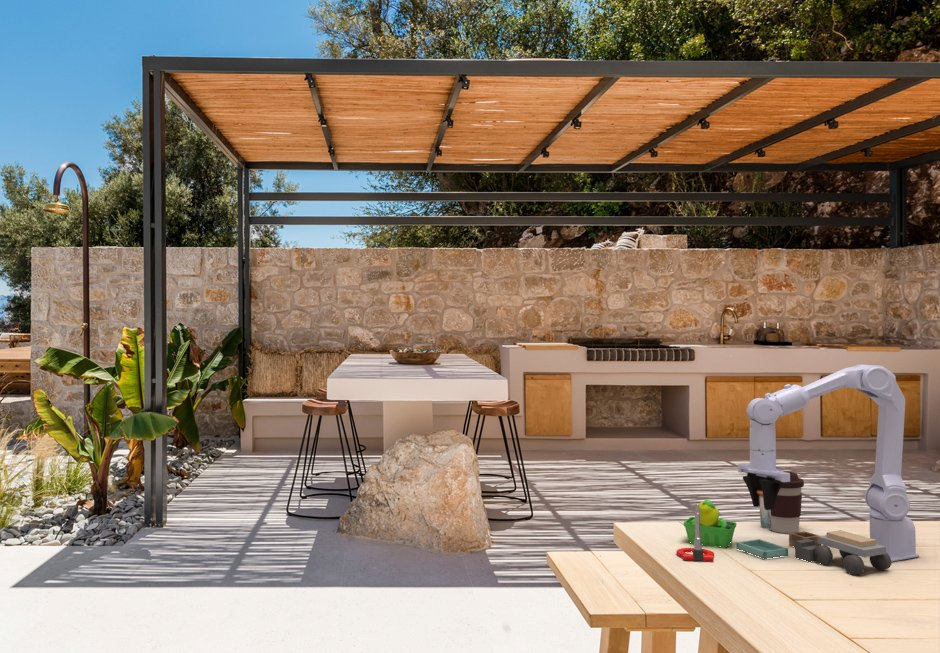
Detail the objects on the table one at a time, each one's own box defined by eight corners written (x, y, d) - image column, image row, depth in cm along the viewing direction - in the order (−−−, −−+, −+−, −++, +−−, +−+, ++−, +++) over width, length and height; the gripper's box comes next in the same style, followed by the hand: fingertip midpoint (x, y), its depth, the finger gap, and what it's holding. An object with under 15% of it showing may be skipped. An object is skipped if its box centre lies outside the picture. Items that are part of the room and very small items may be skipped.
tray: (759, 546, 182) (759, 539, 182) (788, 556, 174) (788, 548, 174) (736, 549, 179) (736, 542, 179) (764, 560, 171) (764, 552, 171)
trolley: (812, 561, 169) (812, 531, 169) (844, 556, 173) (843, 527, 173) (859, 577, 158) (858, 545, 158) (891, 571, 162) (890, 540, 162)
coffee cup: (756, 526, 201) (755, 470, 201) (791, 525, 202) (790, 469, 203) (775, 536, 191) (774, 476, 192) (812, 534, 192) (811, 475, 193)
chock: (808, 556, 174) (808, 539, 174) (822, 561, 170) (822, 543, 170) (795, 558, 172) (795, 541, 173) (809, 563, 169) (809, 545, 169)
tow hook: (674, 551, 180) (679, 561, 171) (674, 497, 181) (678, 503, 171) (711, 553, 178) (717, 563, 169) (710, 498, 179) (717, 504, 170)
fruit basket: (737, 542, 186) (737, 496, 186) (729, 551, 178) (728, 503, 178) (691, 536, 192) (690, 492, 192) (681, 544, 184) (680, 498, 184)
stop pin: (766, 523, 179) (763, 487, 179) (776, 527, 176) (773, 490, 176) (755, 526, 178) (753, 489, 178) (765, 529, 175) (763, 492, 175)
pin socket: (804, 543, 184) (804, 531, 184) (821, 548, 180) (821, 536, 180) (789, 545, 182) (788, 533, 182) (805, 551, 178) (805, 538, 178)
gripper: (727, 446, 182) (728, 503, 182) (773, 455, 169) (773, 516, 169) (750, 444, 185) (750, 500, 185) (796, 453, 172) (797, 513, 171)
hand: (763, 507), depth 177 cm, fingers closed on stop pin, 3 cm apart
